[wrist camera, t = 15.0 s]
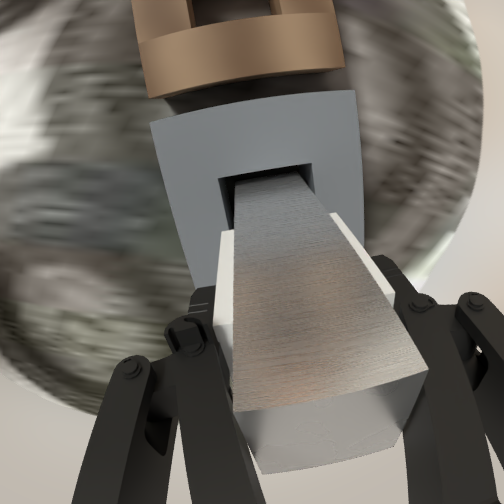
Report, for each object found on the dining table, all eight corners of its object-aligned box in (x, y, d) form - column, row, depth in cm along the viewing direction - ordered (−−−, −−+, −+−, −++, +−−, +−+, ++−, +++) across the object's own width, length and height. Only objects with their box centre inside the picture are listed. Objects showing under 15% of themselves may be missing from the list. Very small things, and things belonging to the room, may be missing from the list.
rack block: (209, 278, 27) (204, 315, 22) (167, 117, 20) (149, 122, 16) (343, 255, 26) (362, 287, 22) (330, 90, 20) (354, 89, 15)
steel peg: (246, 236, 21) (262, 474, 7) (235, 181, 19) (233, 412, 5) (303, 227, 21) (393, 446, 7) (296, 171, 19) (429, 369, 5)
